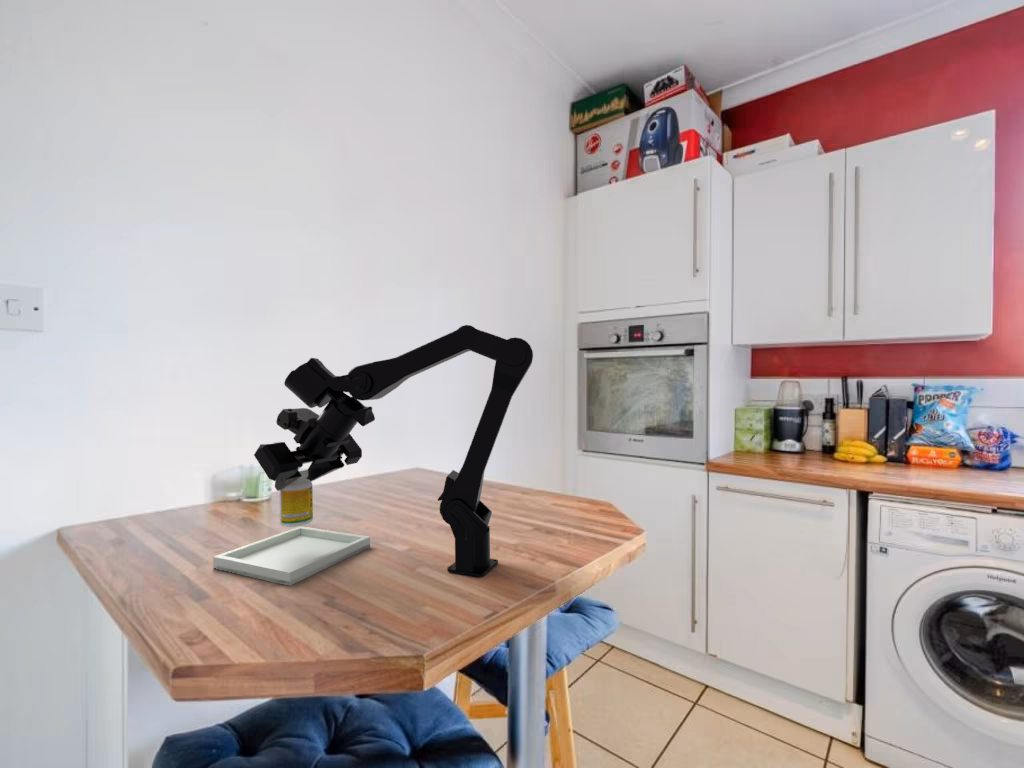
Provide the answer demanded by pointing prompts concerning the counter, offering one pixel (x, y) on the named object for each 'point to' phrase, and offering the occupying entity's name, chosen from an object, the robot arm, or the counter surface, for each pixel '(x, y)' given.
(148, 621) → the counter surface
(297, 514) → the supplement bottle
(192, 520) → the counter surface
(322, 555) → the tray
